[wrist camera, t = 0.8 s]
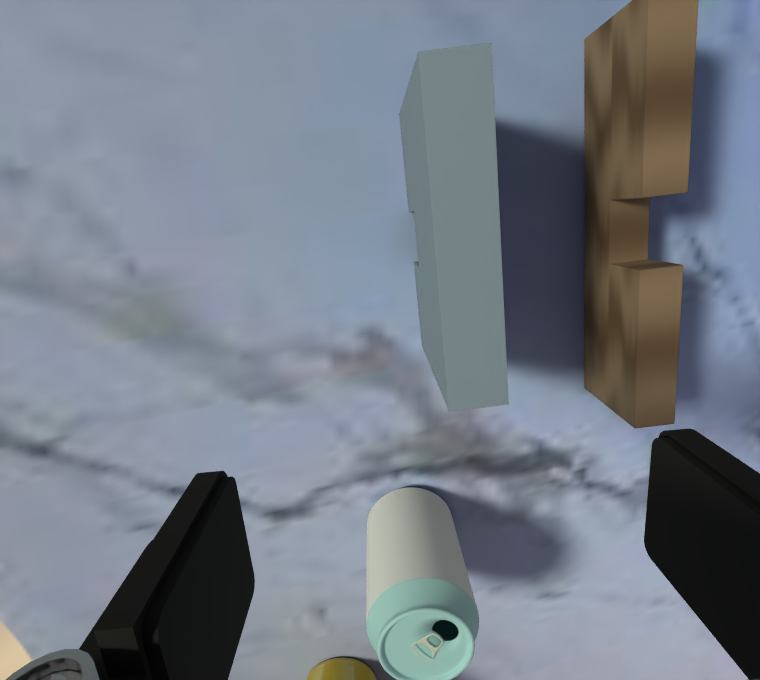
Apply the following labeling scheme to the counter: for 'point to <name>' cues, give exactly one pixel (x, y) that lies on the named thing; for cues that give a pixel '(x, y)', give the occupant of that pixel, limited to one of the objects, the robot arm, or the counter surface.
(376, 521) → the can
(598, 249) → the walnut slotted board
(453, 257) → the plain grey board
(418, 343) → the counter surface
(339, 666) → the plant pot
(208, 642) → the robot arm
